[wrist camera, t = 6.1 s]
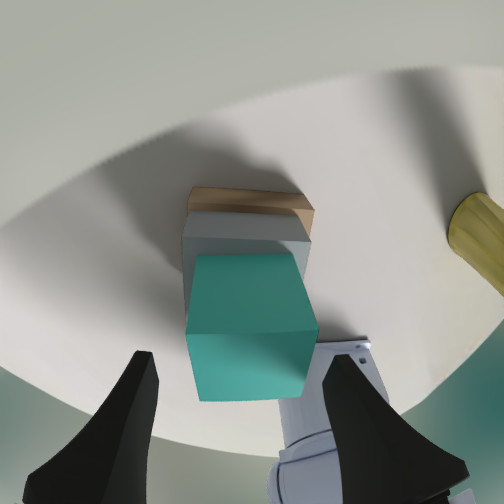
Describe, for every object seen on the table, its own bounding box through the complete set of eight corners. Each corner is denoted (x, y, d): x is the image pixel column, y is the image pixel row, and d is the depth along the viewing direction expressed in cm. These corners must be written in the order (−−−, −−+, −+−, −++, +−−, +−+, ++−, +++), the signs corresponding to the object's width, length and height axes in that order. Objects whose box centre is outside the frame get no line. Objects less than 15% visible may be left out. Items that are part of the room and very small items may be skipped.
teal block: (292, 253, 14) (319, 329, 10) (284, 322, 16) (300, 396, 12) (196, 255, 14) (185, 334, 9) (204, 324, 16) (199, 401, 12)
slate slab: (298, 216, 16) (311, 241, 14) (283, 299, 19) (290, 332, 17) (189, 210, 16) (181, 236, 13) (191, 296, 19) (186, 330, 16)
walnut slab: (302, 192, 19) (314, 210, 16) (286, 280, 22) (293, 306, 20) (193, 185, 18) (187, 202, 15) (193, 276, 21) (188, 303, 19)
